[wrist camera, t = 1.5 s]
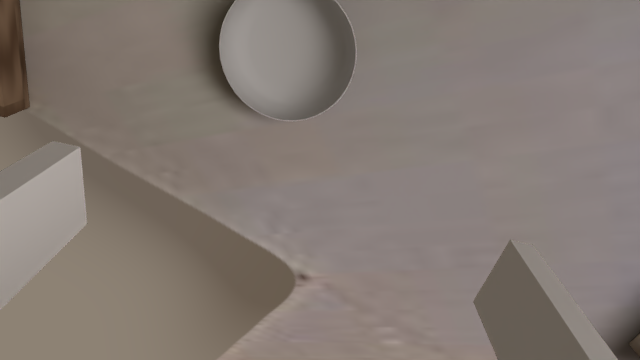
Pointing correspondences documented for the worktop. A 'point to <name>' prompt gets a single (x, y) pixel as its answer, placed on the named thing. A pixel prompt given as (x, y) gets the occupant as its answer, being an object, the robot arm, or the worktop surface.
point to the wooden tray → (12, 60)
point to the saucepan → (288, 55)
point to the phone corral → (636, 344)
